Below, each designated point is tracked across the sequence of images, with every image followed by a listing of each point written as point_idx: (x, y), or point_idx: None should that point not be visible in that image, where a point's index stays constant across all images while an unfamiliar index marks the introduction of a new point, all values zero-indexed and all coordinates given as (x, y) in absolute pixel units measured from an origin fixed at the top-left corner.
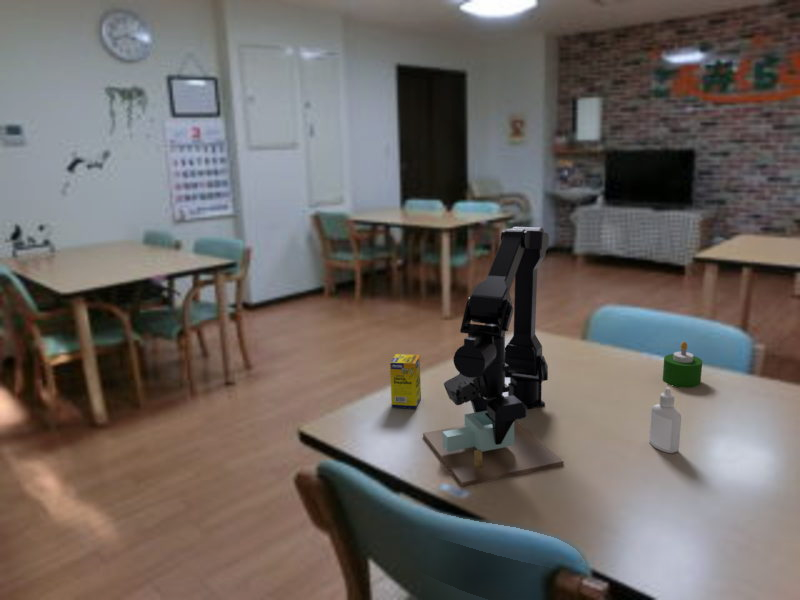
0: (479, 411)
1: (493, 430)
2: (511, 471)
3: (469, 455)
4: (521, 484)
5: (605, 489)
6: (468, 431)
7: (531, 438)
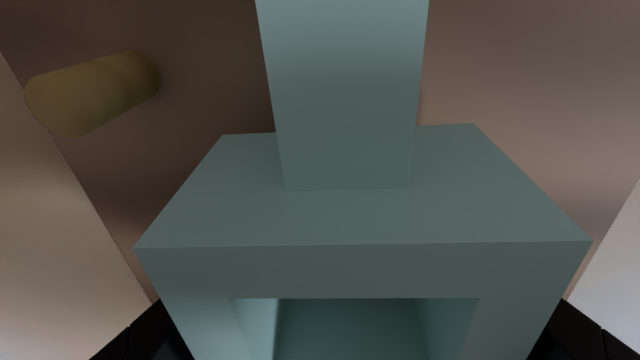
0: (538, 357)
1: (167, 319)
2: (97, 203)
3: None
4: (44, 198)
5: (59, 349)
6: (309, 144)
7: None
